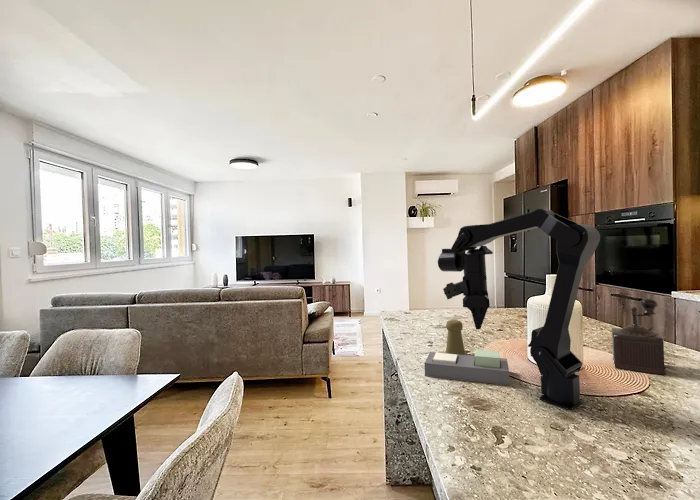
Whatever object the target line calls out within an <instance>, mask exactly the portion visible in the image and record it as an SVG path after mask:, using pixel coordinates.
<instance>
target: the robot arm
mask: <svg viewBox="0 0 700 500" xmlns="http://www.w3.org/2000/svg"><path fill="white" fill-rule="evenodd" d="M535 229H540V230H542V231H543V232H544V233H545V235H547V236H549V237H551V238H553V239H555V240H556V250H555V252H556V255H557V260H558V268H557V271H556V274H555V275H556V276H555V279H554V284H553V288H552V293H551V297H550V300H549V303H548V304H549V305H548V309H547V313H546V317H545V321H544V324H543V326H541V327H538V328H535V329H532V331H531V335H530V336H531V338H530V342H529V344H528V345H527V347H529V348H530V350H529V353H530V356H531V358H532V359H533V360H534V362H535V363H536V366H537V367H538V370H539V371H538V372H539V374H540V375H541V376H540V393H541V395H540V396H539V400H541V401H543V402H546V403H549V404H552V405H554V406H558V407H561V408H563V409H566V410H570V411H571V410H572V411H573V409H575V408H576V407H579V406H580V405H581V404H583V403H585V399H584V398H581V389H580V388H581V387H580V383H581V382H580V381H581V380H580V375H579V374H576V373H579V372H580V371H581V369H582V367H583V365H584V364H583V362H582V361H581V360H580V359H579V358H578V357H577V356H576V355H575V354H574V353H573V351H571V345H572V344H571V343H572V342H571V341H572V340H571V335H570V331H569V330H570V329H569V327H570V324H571V323H570V322H571V319H572V315H573V311H574V307H575V303H576V299H577V295H578V291H579V287H580V284H581V280H582V277H583V276H582V275H583V272H584V269H585V267H586V265H587V264H588V263H589V260H590V259H592V257H593V255H594V253H595V252H596V250H597V247H598V246H599V244H600V242H601V234H600V232H599V231H598V229H597V228H596V227H595V226H593V225H590V224H587V223H586V224H585V223H584V224H582V223H581V224H580V223H578V222H575V221H573V220H571V219H569V218H567V217H564V216H561V215H559V214H558V213H555V212H554V211H553V210H550V209H547V208H545V209H544V208H537V209H535V210H533V211H530V212H527V213H523V214H519V215H516V216H513V217H509V218H505V219H501V220H499V221H495V222H492V223H485V224H474V225H473V224H472V225H464V226H462V227H461V228H460V229H459V231H458V233H457V238H456V239H455V240H454V243H453V245H452V246H451V248H441V253H440V254H439V256H438V259H437V266H438V268H439V270H440V271H441V272H450V273H451V272H454V273H455V272H458V273H459V272H463V276H462V280H461V281H458V282H455V283H454V282H448V283H446V284H445V285H446V286H444V287H443V289H442V290H443V292H444V293H443V294H444V295H445V297H446V299H447V300H451V299H452V298H453V297H456V296H460V295H463V296H464V297H463V298H462V307H463V308H467V309H468V310H469V311H470V312H471V315H472V319H473V323H474V326H475V329H476V330H481V328H482V326H483V323H484V320H485V317H486V314H487V312H488V309H489V308H490V307H491V306H490V305H491V304H490V297H489V292H488V284H487V283H488V282H487V267H486V263H487V262H486V255H493V254H494V252H493V250H491V249H490V248H488V247H487V244H490V243H492V242H493V241H494V240H497V239H499V238H503V237H506V236H510V235H514V234H518V233H523V232H526V231H531V230H535Z"/></svg>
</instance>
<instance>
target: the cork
mask: <svg viewBox="0 0 700 500" xmlns="http://www.w3.org/2000/svg"><path fill="white" fill-rule="evenodd" d="M445 327H446V330H447V339H446V348H445V353H447V354H458V355H466V352H465V345H464V341H463V336H462V335H463V334H462V330H463V327H464V326H463V323H462V321H461V320H458V319H449V320H448V321H446V323H445Z"/></svg>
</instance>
